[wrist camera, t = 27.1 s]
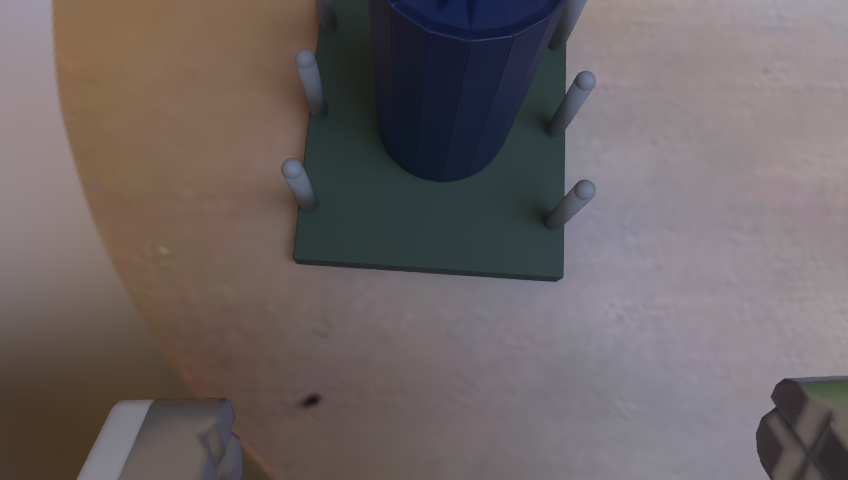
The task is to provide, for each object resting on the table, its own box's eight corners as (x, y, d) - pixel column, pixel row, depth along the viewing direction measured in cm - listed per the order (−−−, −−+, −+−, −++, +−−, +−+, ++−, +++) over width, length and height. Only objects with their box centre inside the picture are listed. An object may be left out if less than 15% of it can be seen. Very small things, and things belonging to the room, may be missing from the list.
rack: (556, 282, 29) (601, 254, 22) (297, 264, 28) (268, 230, 22) (560, 13, 32) (600, -77, 25) (327, -6, 31) (309, -102, 25)
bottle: (530, 142, 29) (688, -141, 13) (421, 205, 28) (450, -19, 12) (462, 42, 30) (533, -332, 14) (354, 99, 29) (303, -232, 13)
